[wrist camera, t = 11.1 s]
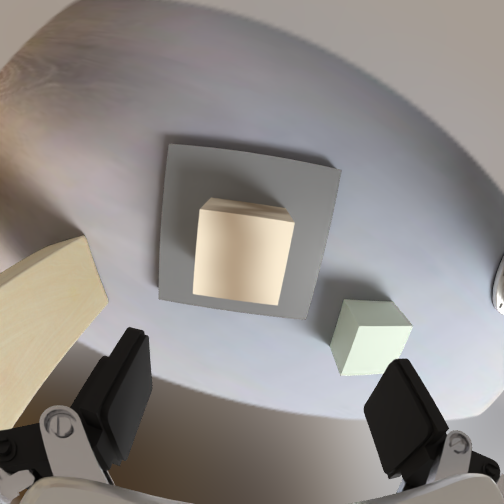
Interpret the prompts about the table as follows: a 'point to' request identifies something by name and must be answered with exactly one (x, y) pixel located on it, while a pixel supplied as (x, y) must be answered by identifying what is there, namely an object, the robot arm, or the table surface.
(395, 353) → the sage block
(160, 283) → the base plate
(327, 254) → the table surface
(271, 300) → the birch block
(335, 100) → the table surface
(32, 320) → the toy refrigerator
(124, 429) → the robot arm
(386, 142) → the table surface
